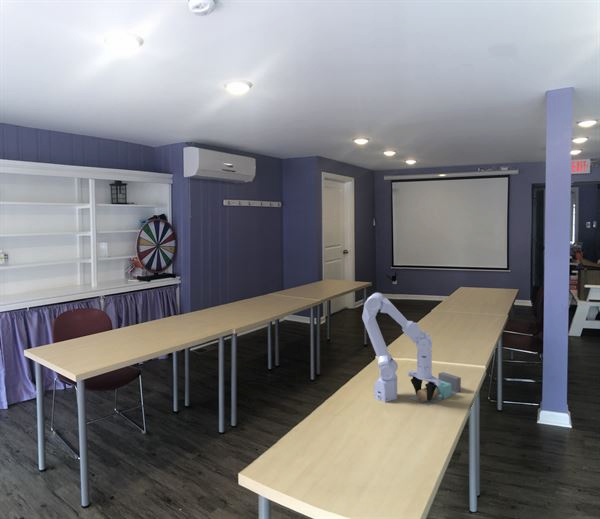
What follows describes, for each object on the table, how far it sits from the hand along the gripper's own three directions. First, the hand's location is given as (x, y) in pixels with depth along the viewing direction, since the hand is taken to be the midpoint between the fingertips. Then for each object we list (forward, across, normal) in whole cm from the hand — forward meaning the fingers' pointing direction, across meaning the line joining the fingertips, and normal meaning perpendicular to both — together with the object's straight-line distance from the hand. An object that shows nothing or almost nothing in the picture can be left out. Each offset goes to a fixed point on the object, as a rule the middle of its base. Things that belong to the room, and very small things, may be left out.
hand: (424, 397), depth 183 cm
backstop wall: (+2, +1, -19) cm, 19 cm away
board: (+2, +1, -7) cm, 7 cm away
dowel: (+1, 0, -2) cm, 3 cm away
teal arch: (+1, 0, -10) cm, 10 cm away
